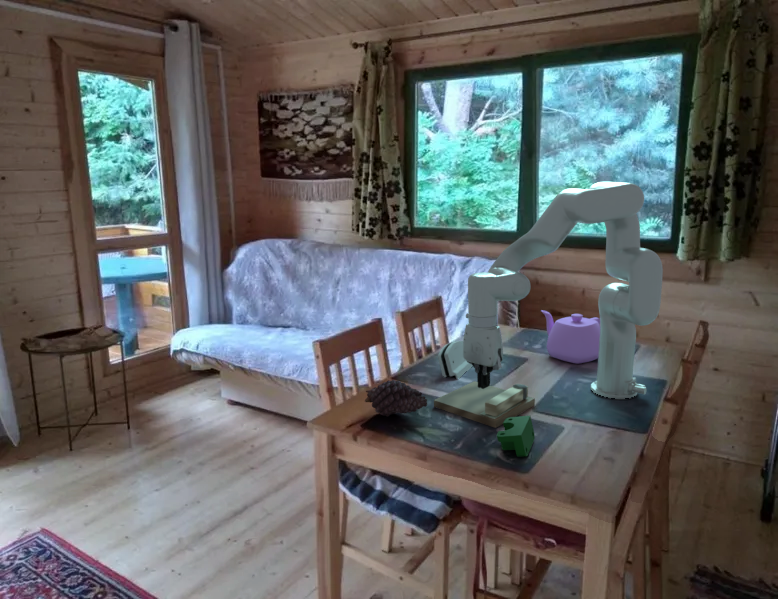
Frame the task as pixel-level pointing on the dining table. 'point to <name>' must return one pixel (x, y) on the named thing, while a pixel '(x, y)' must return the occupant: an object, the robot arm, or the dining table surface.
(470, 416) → the stool seat
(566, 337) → the teapot
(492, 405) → the folding leg
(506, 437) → the clamp
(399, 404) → the pine cone
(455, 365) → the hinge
